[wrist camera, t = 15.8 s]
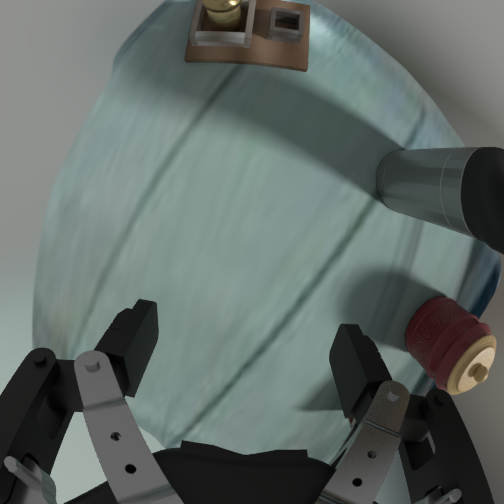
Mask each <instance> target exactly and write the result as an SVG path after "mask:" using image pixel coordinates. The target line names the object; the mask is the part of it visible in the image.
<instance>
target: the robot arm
mask: <svg viewBox="0 0 504 504" xmlns="http://www.w3.org/2000/svg"><path fill="white" fill-rule="evenodd" d="M377 189H378V192H379V195H380V197H381V199H382V201H383V202H384V204H385V205H386V206H387V207H388V208H390V209H391V210H393V211H395V212H398V213H401V214H405V215H408V216H411V217H414V218H417V219H420V220H423V221H426V222H430V223H433V224H436V225H439V226H442V227H445V228H447V229H450V230H453V231H456V232H459V233H462V234H465V235H467V236H470V237H473V238H475V239H478V240H480V241H483V242H485V243H486V244H487V245H488V246H489V247H491V248H492V249H494V250H496V251H498V252H500V253H502V254H504V149H501V148H496V147H463V148H434V149H416V150H401V151H395V152H392V153H390V154H388V155H387V156H386V157H385V158H384V159H383V160H382V162H381V163H380V166H379V168H378V172H377ZM158 334H159V328H158V314H157V303H156V302H154V301H148V300H143V299H139V300H138V301H137V302H136V304H135V305H134V307H133V309H129V308H126V309H124V310H123V311H121V312H120V313H118V314H117V316H116V317H115V319H114V320H113V323H111V325H110V326H109V329H107V331H106V332H105V334H104V335H103V337H102V338H101V340H100V341H99V343H98V344H97V346H96V347H95V349H94V350H93V351H86V352H84V353H82V354H80V355H79V356H78V357H77V358H76V360H59V359H56V356H55V354H54V352H53V351H52V350H50V349H48V348H37V349H34V350H32V351H31V352H30V353H29V354H28V355H27V356H26V357H25V359H24V360H23V362H22V363H21V365H20V366H19V368H18V369H17V370H16V372H15V374H14V375H13V376H12V378H11V380H10V381H9V383H8V384H7V386H6V388H5V389H4V391H3V392H2V394H1V395H0V504H57V503H56V486H55V483H54V481H53V479H52V478H51V477H50V473H51V470H52V468H53V465H54V462H55V459H56V456H57V454H58V451H59V448H60V446H61V443H62V440H63V438H64V435H65V433H66V430H67V428H68V426H69V423H70V420H71V418H72V416H73V414H74V412H83V415H84V418H85V422H86V425H87V428H88V431H89V434H90V437H91V440H92V443H93V446H94V449H95V451H96V454H97V456H98V459H99V462H100V464H101V466H102V469H103V471H104V474H105V476H106V478H107V481H106V482H104V483H102V484H100V485H99V486H97V487H95V488H93V489H91V490H89V491H88V492H86V493H84V494H82V495H80V496H78V497H76V498H74V499H72V500H70V501H68V502H66V503H64V504H378V503H377V502H375V501H374V500H375V498H376V496H377V494H378V492H379V490H380V488H381V486H382V483H383V482H384V480H385V477H386V475H387V473H388V471H389V469H390V466H391V464H392V462H393V459H394V457H395V454H396V452H397V449H398V450H399V454H400V457H401V461H402V465H403V469H404V473H405V477H406V481H407V486H408V490H409V494H410V499H411V504H494V501H493V498H492V494H491V491H490V488H489V485H488V483H487V479H486V476H485V474H484V471H483V468H482V466H481V463H480V460H479V458H478V455H477V453H476V450H475V448H474V445H473V443H472V441H471V438H470V436H469V434H468V431H467V429H466V427H465V425H464V423H463V420H462V418H461V416H460V414H459V412H458V410H457V408H456V406H455V404H454V402H453V400H452V398H451V396H450V395H449V394H448V393H447V392H446V391H444V390H442V389H438V388H434V389H431V390H430V391H429V392H428V393H427V394H426V396H425V397H424V396H417V395H411V394H409V391H408V389H407V388H406V387H405V386H404V385H403V384H401V383H399V382H396V381H393V380H392V378H391V376H390V373H389V371H388V369H387V367H386V365H385V363H384V361H383V359H381V358H382V357H381V355H380V353H379V352H378V349H377V347H376V345H375V343H374V342H373V341H372V340H371V339H370V338H369V337H368V336H366V335H363V333H362V331H361V329H360V327H359V325H357V324H341V325H340V326H339V328H338V331H337V334H336V336H335V339H334V342H333V344H332V347H331V349H330V354H329V361H330V365H331V369H332V372H333V376H334V379H335V383H336V387H337V390H338V394H339V397H340V401H341V405H342V409H343V412H344V416H345V418H355V421H356V422H355V424H354V425H353V427H352V428H351V430H350V432H349V434H348V435H347V437H346V439H345V440H344V442H343V444H342V445H341V447H340V448H339V450H338V452H337V453H336V455H335V456H334V458H333V459H332V460H331V461H330V463H329V464H327V463H325V462H322V461H320V460H317V459H314V458H310V457H308V454H307V449H306V450H273V451H268V452H262V453H256V454H250V455H243V454H239V453H236V452H232V451H229V450H226V449H223V448H220V447H217V446H214V445H209V444H202V443H195V442H189V441H183V440H182V442H181V447H180V448H169V449H165V450H160V451H158V452H155V453H151V451H150V449H149V448H148V446H147V444H146V442H145V440H144V438H143V436H142V434H141V432H140V430H139V428H138V426H137V424H136V422H135V420H134V418H133V415H132V413H131V411H130V409H129V406H128V404H127V402H126V400H125V399H124V398H125V395H126V396H129V397H133V398H134V397H135V394H136V392H137V389H138V387H139V384H140V382H141V379H142V377H143V374H144V372H145V369H146V367H147V365H148V362H149V360H150V358H151V355H152V353H153V350H154V348H155V346H156V343H157V340H158ZM429 434H431V436H432V439H433V442H434V445H435V454H433V451H432V448H431V446H430V443H429V440H428V437H427V436H428V435H429Z"/></svg>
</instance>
